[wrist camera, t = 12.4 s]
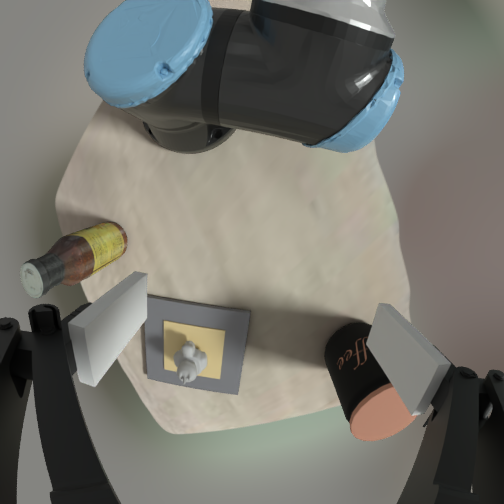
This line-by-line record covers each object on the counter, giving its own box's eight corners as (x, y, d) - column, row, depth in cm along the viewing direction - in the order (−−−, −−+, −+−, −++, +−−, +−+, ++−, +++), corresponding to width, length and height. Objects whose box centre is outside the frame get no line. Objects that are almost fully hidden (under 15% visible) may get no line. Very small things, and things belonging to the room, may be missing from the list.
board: (146, 294, 43) (143, 297, 42) (250, 310, 43) (250, 314, 42) (149, 375, 47) (147, 379, 46) (238, 391, 47) (237, 395, 46)
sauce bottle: (110, 213, 40) (24, 233, 21) (136, 239, 41) (59, 276, 22) (90, 243, 41) (8, 277, 22) (115, 268, 42) (40, 317, 23)
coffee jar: (381, 314, 44) (433, 373, 26) (376, 364, 46) (415, 428, 28) (322, 325, 44) (354, 396, 26) (322, 375, 46) (346, 449, 29)
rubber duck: (179, 366, 45) (168, 395, 37) (174, 333, 43) (160, 360, 35) (210, 367, 45) (203, 398, 37) (207, 335, 43) (198, 363, 35)
